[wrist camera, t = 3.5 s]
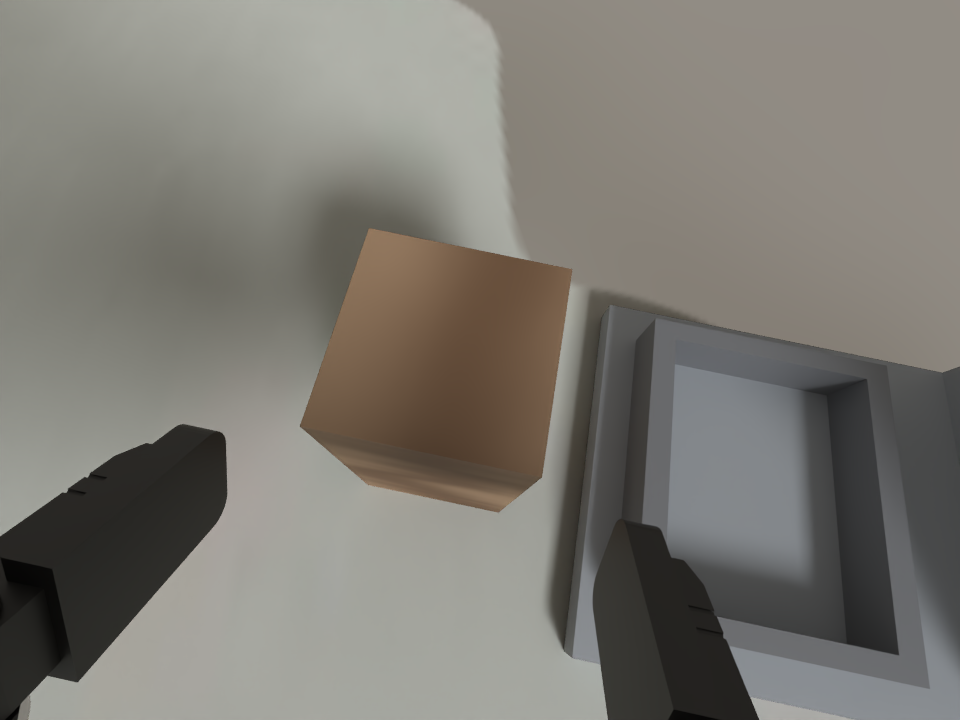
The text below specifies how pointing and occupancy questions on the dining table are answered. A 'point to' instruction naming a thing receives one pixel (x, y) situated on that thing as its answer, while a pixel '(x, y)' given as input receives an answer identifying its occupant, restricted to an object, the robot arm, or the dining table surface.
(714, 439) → the grey socket stand
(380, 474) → the walnut block
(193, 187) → the dining table surface
